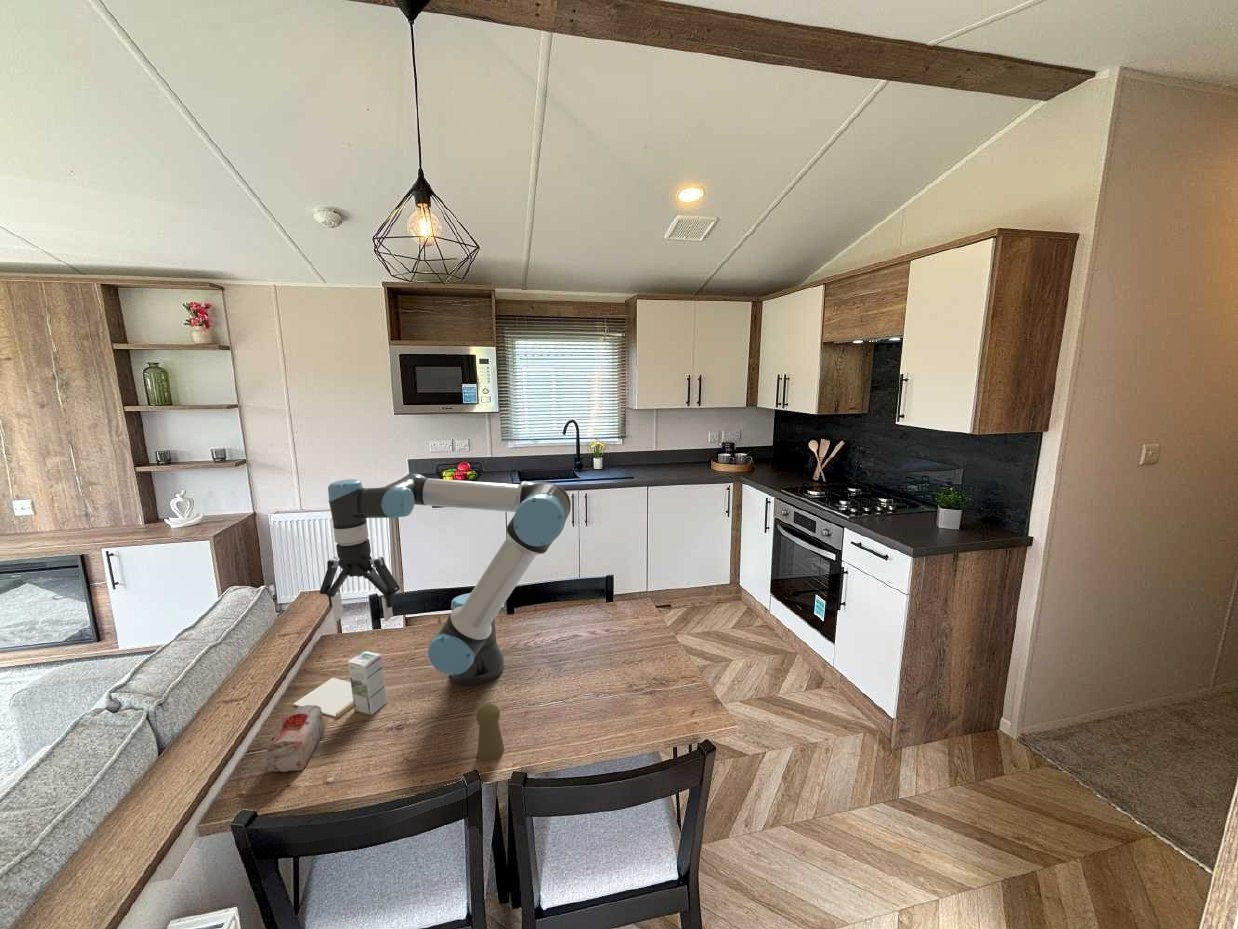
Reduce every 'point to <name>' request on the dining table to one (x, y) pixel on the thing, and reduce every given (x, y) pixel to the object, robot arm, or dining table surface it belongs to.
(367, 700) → the syrup box
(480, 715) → the olive green shaker
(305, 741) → the food item
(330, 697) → the trivet
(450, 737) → the dining table surface
